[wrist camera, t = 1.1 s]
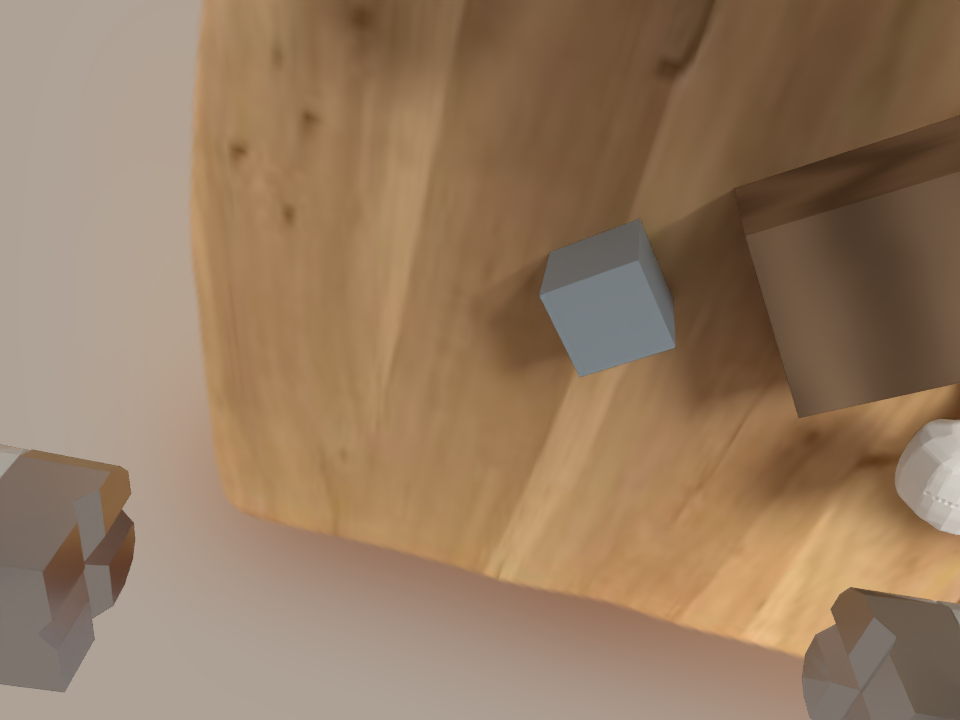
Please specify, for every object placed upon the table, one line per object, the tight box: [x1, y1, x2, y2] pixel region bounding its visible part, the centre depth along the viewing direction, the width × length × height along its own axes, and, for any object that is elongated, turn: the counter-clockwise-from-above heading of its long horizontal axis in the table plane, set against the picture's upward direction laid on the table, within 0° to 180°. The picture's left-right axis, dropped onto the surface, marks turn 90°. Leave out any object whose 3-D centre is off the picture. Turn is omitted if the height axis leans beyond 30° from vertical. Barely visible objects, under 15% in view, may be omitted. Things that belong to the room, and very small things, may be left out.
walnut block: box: [734, 115, 960, 418], centre depth 38 cm, size 10×10×6 cm
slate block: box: [539, 219, 676, 377], centre depth 42 cm, size 5×5×5 cm
